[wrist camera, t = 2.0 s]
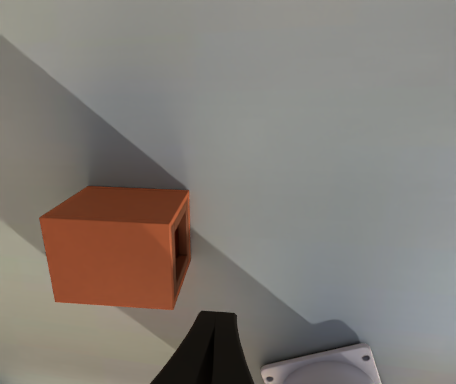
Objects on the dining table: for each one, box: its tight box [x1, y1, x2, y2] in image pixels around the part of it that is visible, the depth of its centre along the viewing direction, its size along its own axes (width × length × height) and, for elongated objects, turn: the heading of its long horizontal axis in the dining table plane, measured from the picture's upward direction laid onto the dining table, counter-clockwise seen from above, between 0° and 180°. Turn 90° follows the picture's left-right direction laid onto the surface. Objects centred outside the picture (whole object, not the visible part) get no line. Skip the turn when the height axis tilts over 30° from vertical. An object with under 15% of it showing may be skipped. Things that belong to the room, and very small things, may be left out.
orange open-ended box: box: [39, 186, 191, 310], centre depth 19 cm, size 6×5×5 cm
